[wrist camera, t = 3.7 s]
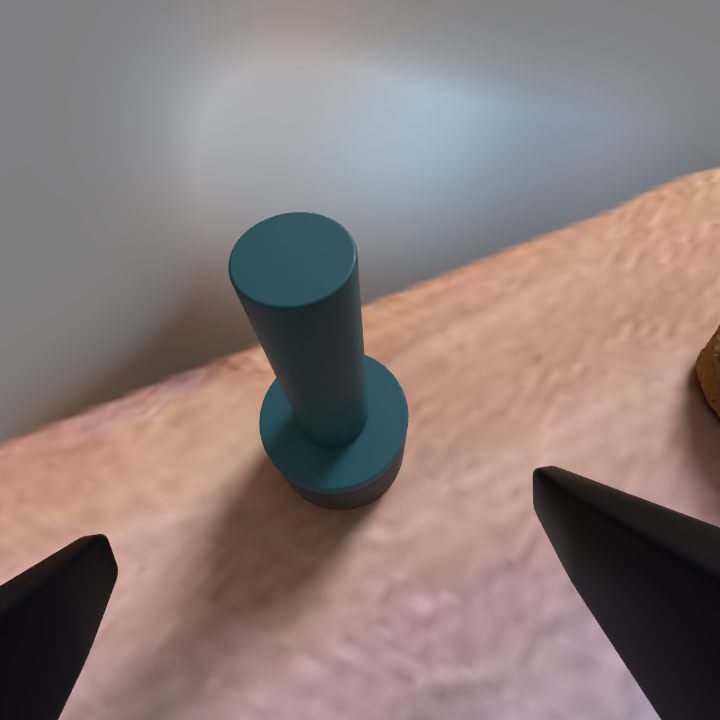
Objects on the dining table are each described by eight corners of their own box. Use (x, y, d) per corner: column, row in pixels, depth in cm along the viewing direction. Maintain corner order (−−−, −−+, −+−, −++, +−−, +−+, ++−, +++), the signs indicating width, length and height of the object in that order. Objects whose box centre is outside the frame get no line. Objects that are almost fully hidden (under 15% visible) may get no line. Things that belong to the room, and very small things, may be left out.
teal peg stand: (349, 539, 20) (297, 445, 7) (255, 455, 22) (95, 276, 10) (427, 436, 22) (486, 234, 10) (335, 370, 24) (288, 138, 12)
